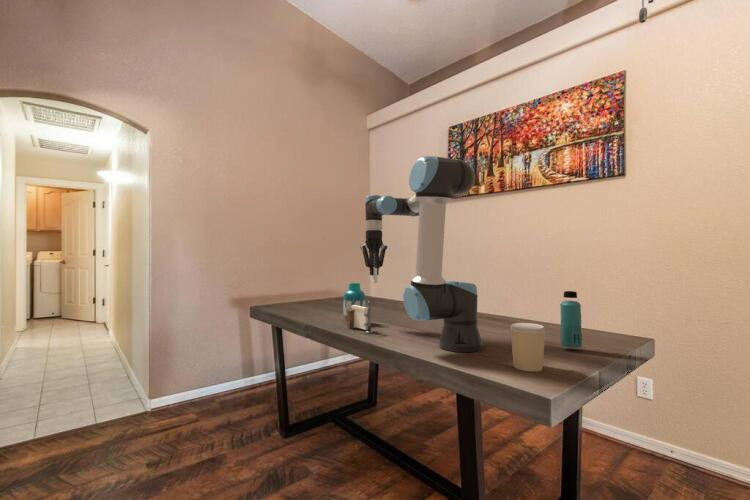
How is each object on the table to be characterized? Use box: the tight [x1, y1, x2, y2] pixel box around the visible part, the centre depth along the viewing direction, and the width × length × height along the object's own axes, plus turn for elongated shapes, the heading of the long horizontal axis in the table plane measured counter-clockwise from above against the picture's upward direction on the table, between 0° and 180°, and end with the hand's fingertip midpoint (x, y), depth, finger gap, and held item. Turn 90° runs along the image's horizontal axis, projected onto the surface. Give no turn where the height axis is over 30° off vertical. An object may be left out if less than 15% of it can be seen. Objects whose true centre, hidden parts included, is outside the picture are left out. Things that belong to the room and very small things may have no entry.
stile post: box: [346, 309, 355, 330], centre depth 161 cm, size 3×3×8 cm
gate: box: [351, 305, 368, 331], centre depth 157 cm, size 12×2×9 cm, turn 35°
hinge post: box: [364, 300, 375, 334], centre depth 152 cm, size 4×4×13 cm
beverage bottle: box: [559, 290, 583, 349], centre depth 123 cm, size 6×7×20 cm
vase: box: [342, 282, 367, 322], centre depth 172 cm, size 11×11×19 cm
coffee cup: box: [509, 322, 546, 372], centre depth 105 cm, size 9×9×12 cm
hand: (374, 282), depth 162 cm, fingers closed
